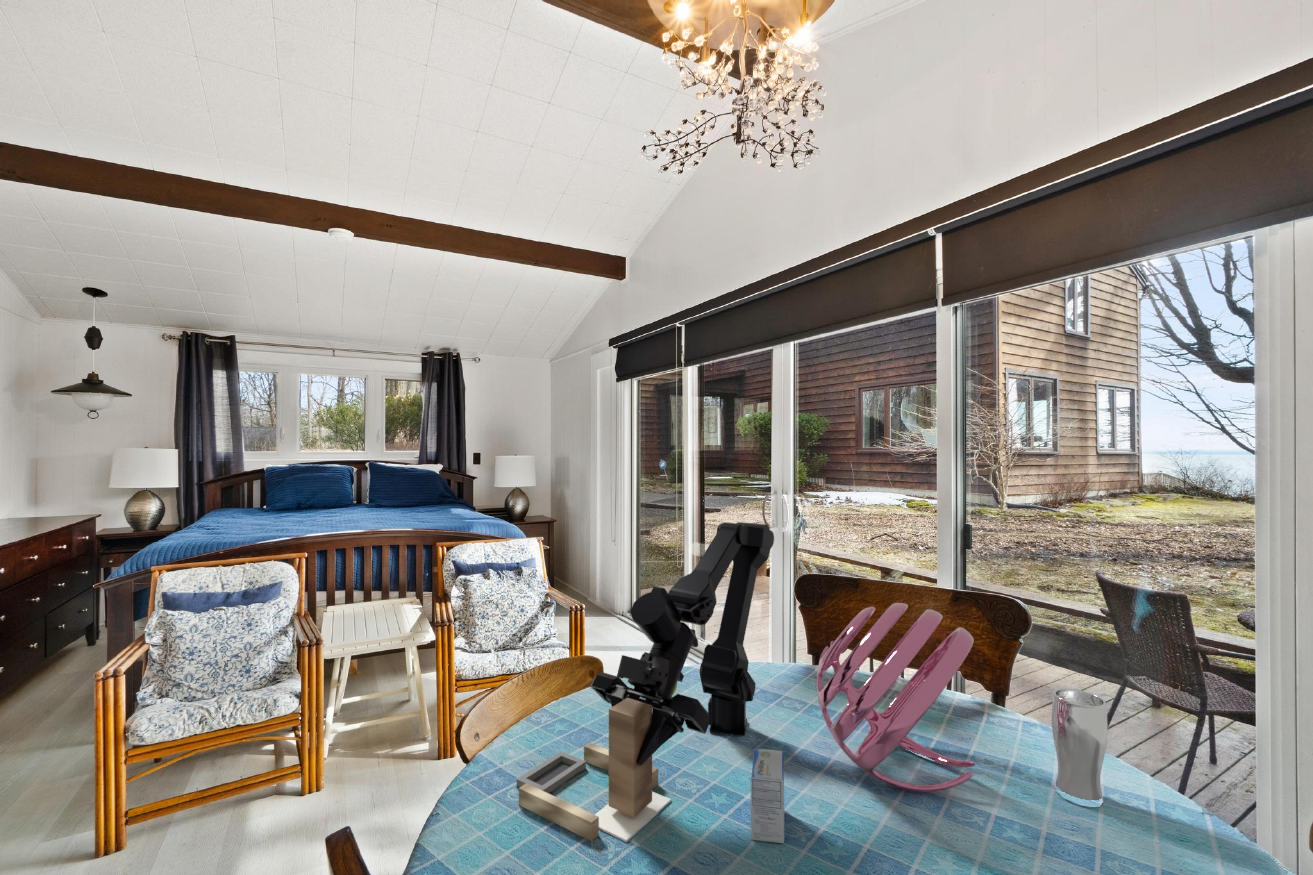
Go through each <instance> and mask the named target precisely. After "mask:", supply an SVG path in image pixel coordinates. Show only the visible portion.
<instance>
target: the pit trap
mask: <svg viewBox="0 0 1313 875" xmlns="http://www.w3.org/2000/svg"><path fill="white" fill-rule="evenodd" d="M586 769H587V762H586V761H584V759H582V758H579V757H577V756H574V755H571V754H569V753H566V752H564V751H559V752H558V753H556V754H554V755H553V756H551V757H550V758H548V759H547V760H545V761H543V762H542V763H540V764H539V765H537V766H535V767H534V768H532V769H530V770H529V771H527V772H526V773H524V774H522V775H521V776H519V777H517V778H516V788H517V789H519V788H520V787H521V786H523V785H525V784H526V783H527V784H529V785H531V786H533V787H536V788H538V789H540V790H542V791H544V792H546V793H549V794H551V793H553V792H554V791H556V790H557V789H559V788H560V787H562V786H563V785H565V784H566V783H567V782H569V781H571V779H573V778H574V777H576V776H577V775H579V774H581V773H582V772H583V771H585V770H586Z"/></svg>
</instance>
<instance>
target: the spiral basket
mask: <svg viewBox="0 0 1313 875" xmlns="http://www.w3.org/2000/svg"><path fill="white" fill-rule="evenodd" d="M908 607H909V605H908V604H907V603H904V602H903V603H902V602H894V603H892V604H891V605H890V606H889V607H888V608H886V610H885V612H884V613H883V614H882V615H881V616H880V617H879V618H878V620H877V621H876V622H875V623H874V625H872V626H871V628H870V629H869V630H868V631H867V632H866V634H865V635H864V636H863V637H862V639H861V640H859V642H858V643H857V644H856V646H855V647H854V648H853V650H851V652H850V654H849V655H848V656H847V657H846V658H845V659H844V661H842V663H840V657H841V654H842V653H843V652H844V651H845V650H846V648H848V646H849V645H850V643H851V642H852V641H853V640H854V639H855V638H856V637H857V635H858V634H859V632H860V631H861V630H862V628H863V627H864V626H865V624H866V623H867V622H868V621H869V619H870V618H871V617H872V615H873V614H874V612H875V611H876V608H875V606H869V607H866V608H864V609H862V610H860V612H858V613H857V615H856V616H855V617H853V618H852V620H851V621H850V622H849V624H847V625H846V626H845V628H844V629H843V630H842V631H841V633H839V635H838V637H837V638H836V639H835V640H832V641H830V646H828V645H826V646H825V647H824V648H823V649H822V650H823V651H822V653H821V654H820V658H819V661H818V667H817V673H816V690H817V699H818V704H819V707H820V711H821V714H822V718H823V720H824V722H825V725H826V727H827V729H828V731H829V733H830V735H831V736H832V738H833V739H834V741H835V743H836V744H837V746H838V747H839V748H840V749H841V750H842V751H843V753H844V754H845V755H846V756H847V758H849V759H850V760H851V761H852V762H853V764H855V766H857V767H858V768H860V769H861V770H862V771H864V772H865V773H866V774H868V775H870V776H871V777H873V778H874V779H876V780H878V781H880V782H882V783H884V784H886V785H888V786H891V787H894V788H897V789H900V790H904V791H910V792H915V793H916V792H917V793H933V792H934V793H935V792H941V791H946V790H949V789H952V788H955V787H958V786H960V785H963V784H964V783H966V782H967V781H969V780H970V779H971V778H972V777H973V775H974V774H973V772H972V771H967V772H966V773H964V774H962V775H960V776H958V777H956V778H953V779H951V780H948V781H946V782H945V781H944V782H941V783H936V784H926V785H925V784H912V783H908V782H907V783H906V782H903V781H902V782H901V781H900V780H899V781H898V780H896V779H894V778H890V777H888V776H885V775H883V774H881V773H879V772H878V771H876V770H875V768H877V767H878V766H879V765H880V764H881V763H882V762H883V761H884V760H885V759H887V757H888V756H889V755H890V754H891V753H892V752H893V751H894V750H895V749H896V748H897V747H900V748H902V749H903V748H904V749H903V750H905V749H907V750H910V751H912V752H914V753H917V754H921V755H923V756H926V757H928V758H930V759H932V760H934V761H935V762H938V763H941V764H943V765H942V766H945V765H946V767H950V768H951V767H953V768H972V767H975V766H976V764H975V762H974V761H970V760H960V759H955V758H951V757H948V756H945V755H942V754H939V753H937V752H936V751H933V750H931V749H929V748H928V747H925V746H923V745H921V744H920V743H918V742H916V741H915V740H913V739H911V738H910V737H909V736H908V735H909V733H910V732H911V731H912V730H913V729H914V727H915V726H916V725H917V724H918V723H919V721H920V720H922V718H923V716H925V714H926V713H927V712H928V710H929V709H930V708H931V707H932V705H933V704H934V702H936V700H937V699H938V698H939V696H940V695H941V694H942V692H943V691H944V690H945V688H946V687H947V686H948V684H949V683H950V681H952V678H953V677H954V676H955V675H956V674H957V672H958V670H959V669H960V667H961V666H962V664H963V663H964V661H965V660H966V658H967V656H968V654H969V653H970V651H971V649H972V647H973V644H974V641H975V639H974V637H973V636H972V634H971V633H970V632H969V631H968V630H966V629H965V628H964V627H960V626H959V627H957V628H955V630H953V631H952V632H951V633H950V634H949V635H948V636H947V637H946V638H945V639H944V640H943V641H942V642H941V643H940V644H939V645H938V646H937V648H936V649H935V650H934V651H932V653H931V654H930V656H929V657H928V658H927V659H926V660H925V661H924V662H923V663H922V665H921V666H920V667H919V668H918V670H916V672H915V673H914V674H913V675H912V677H911V678H910V679H909V681H907V682H906V684H905V685H904V687H903V688H902V689H901V690H900V691H899V693H898V694H897V695H896V696H895V697H894V698H893V700H892V701H891V703H890V704H889V706H888V707H887V708H886V709H885V710H884V711H882V712H878V711H877V710H876V709H874V708H875V707H876V706H877V704H878V703H879V702H880V701H881V699H882V698H883V697H884V696H885V694H886V693H887V692H888V691H889V690H890V688H891V687H892V686H893V684H894V683H895V682H896V681H897V680H898V678H899V677H900V676H901V675H902V674H903V672H904V671H905V669H907V667H908V665H910V663H911V662H912V661H913V660H914V659H915V657H916V655H917V654H918V653H919V652H920V650H921V649H922V647H924V645H925V643H926V642H927V641H928V640H929V638H930V637H931V636H932V634H933V633H934V631H935V630H936V629H937V628H938V626H939V624H940V623H941V621H942V619H943V618H944V617H943V614H941V613H940V612H938V611H936V610H935V609H934V610H933V609H926V610H924V612H923V613H922V614H921V615H920V616H919V618H917V620H916V621H915V622H914V623H913V625H912V626H911V627H910V628H909V629H908V631H906V633H905V634H903V637H902V638H901V639H900V640H899V641H898V642H897V644H896V645H895V646H894V647H893V649H892V650H891V651H890V652H889V653H888V655H887V656H886V657H885V659H884V660H883V661H882V662H881V663H880V665H878V666H877V668H876V669H875V671H874V672H873V674H872V675H870V677H869V678H868V679H867V680H866V682H865V683H864V685H863V686H862V687H861V688H856V687H855V686H854V684H853V680H852V679H853V676H854V675H855V673H856V672H857V671H858V670H859V669H860V667H861V666H862V665H863V664H864V663H865V661H866V660H867V659H868V658H869V656H870V655H871V654H872V653H873V651H874V650H875V649H876V647H877V646H878V645H879V644H880V643H881V641H883V639H884V638H885V636H886V635H887V634H888V633H889V631H890V630H891V629H892V628H893V626H894V625H895V624H896V623H897V622H898V620H899V619H900V618H901V616H902V615H903V614H904V613H905V611H907V609H908ZM831 666H832V669H833V675H832V676H831V677H830V679H829V680H828V681H827V682H826V684H825V685H824V684H823V683H824V682H823V680H824V674H825V673H826V672H827V671H828V670H829V668H830V667H831ZM823 685H824V686H823ZM840 692H842V693H844V694H845V696H846V698H847V705H846V707H845V709H844V710H843V711H842V712H841V714H840V715H839V716H838V718H837V719H836V720H835V721H834V723H833V722H832V720H831V717H830V715H829V712H828V706H829V705H830V704H831V703H832V702H833V700H834V699H835V698H836V697H837V695H838V694H839V693H840ZM864 720H865V721H866V722H867V723H868V724H869V727H870V730H869V732H868V733H867V735H866V736H865V737H864V739H863V741H862V742H861V744H860V745H859V747H858V749H857V750H856V752H855V753H854V752H852V750H850V748H849V747H848V746H847V745H846V743H845V741H846V740H847V739H848V737H849V736H850V735H851V734H852V733H853V732H854V731H855V730H856V729H857V728H858V726H860V724H861V723H862V722H863V721H864ZM907 750H906V751H907ZM941 764H940V765H941Z"/></svg>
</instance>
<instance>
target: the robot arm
mask: <svg viewBox="0 0 1313 875" xmlns="http://www.w3.org/2000/svg"><path fill="white" fill-rule="evenodd" d="M774 541H775V534H774V532H773V530H771V529H770V527H769V526H768V525H767V524H762V523H754V522H752V523H750V522H742V521H741V522H740V521H738V522H735V523H734V522H722V523H720V524H718V526H717V528H716V534H715V536H714V538H712V540H711V541H710V543H709V545H708V546H707V548H706V550H705V551H704V553H703V555H702V556H701V557H700V559H699V561H698V563H697V564H696V566H695V567H694V569H693V570H692V571H691V573H688V574H686V575H684V576H682V577H680V578H679V579H678V580H677V581H676V582H675V583H674V585H673V586H672V587H671V588H670V589H669V591H667V590H666V589H665V587H660V586H653V587H652V589H651V591H649V592H646V593H645V594H642V595H641V596H640V597H638V598H637V600H635V601H634V602H633V604H632V606H631V609H630V615H631V617H632V618H631V619H632V620H633V622H634V623H635V624H636V625H637V626H638V628H639V629H640V631H641V632H642V633H643V634H644V635H645V636H646V637H647V639H648V640H649V641H650V642H652V643H653V644H652V647H651V648H650V650H649V652H646V651H645V652H643V653H642V655H641V657H640V658H639V659H638V658H635V657H631V656H629V655H623V654H622V655H621V657H620V663H619V666H618V670H617V674H616V675H614V674H610V673H607V672H604V671H602V672H599V673H598V674H596V675H595V677H594V678H593V681H592V682H591V684H590V688H591V689H592V690H593V691H594V692H595V693H596V694H597V695H598V696H600V698H601V699H603V701H604V702H606V703H607V704H610V707H613V706H615V705H616V704H618V703H620V702H621V701H623V700H625V699H626V698H630V699H633V700H636V701H640V702H643V703H646V704H649V705H652V722H651V725H650V728H649V730H648V732H647V735H646V737H645V739H644V742H643V744H642V746H641V749H640V751H639V754H638V758H637V761H636V762H637V764H638V765H642V764H643V763H644V762H645V761H646V760H647V759H648V758H649V757H650V756H651V755H652V756H653V755H654V754H655V752H656V751H658V750H659V748H660V747H662V746H663V745H664V744H665V743H666V742H667V741H669V740H670V739H671V738H672V737H673V736H675V735H676V734H677V733H680V734H683V733H684V730H685V729H684V727H683V725H684V723H685V725H686V727H687V729H688V730H691V731H694V732H697V733H701V734H706V733H707V730H708V728H709V733H711V734H718V735H726V736H727V735H728V736H738V737H746V732H747V724H748V719H747V702H752V701H754V696H755V693H756V682H755V680H754V679H753V677H752V676H751V674H750V672H748V670H749V659H748V656H747V652H746V649H745V646H744V641H745V636H746V631H747V625H748V620H749V616H750V610H751V606H752V601H753V596H754V591H755V590H754V589H755V585H756V579H757V574H758V570H759V569H760V568H762V566H763V565H764V564H765V562H767V561H768V559H769V558H770V557H769V556H770V552H771V549H772V547H774V543H775V542H774ZM731 564H732V570H731V572H730V573H731V574H730V578H729V583H728V588H727V592H726V597H725V602H724V605H723V606H724V607H723V611H722V616H721V622H720V624H719V630H718V635H717V637H716V639H715V640H714V641H713V642H712V644H706V646H705V648H704V652H703V657H702V660H701V663H700V667H699V678H700V683H701V688H702V692H703V693H704V694H709V695H711V696H710V697H709V700H708V703H707V709H706V708H705V706H704V705H703V704H702V703H701V702H700V701H699V699H697V698H694V697H691V696H687V695H683V694H680V693H676V694H675V695H674V694H673V691H674V689H675V686H676V684H677V685H678V682H680V683H683V680H684V677H685V675H684V674H683V672H682V670H683V668H684V665H685V663H686V661H687V658H688V656H689V654H690V650H691V648H692V647H693V648H697V647H699V640H698V638H697V635H696V630H695V629H693V628H690V627H689V625H688V624H692V625H698V626H702V625H703V626H705V625H706V624H707V623H708V622H709V621H710V619H711V618H712V617H713V614H714V612H715V607H716V605H717V596H716V590H717V589H718V587H719V584H720V583H721V581H722V579H723V577H724V576H725V574H726V572H727V571H728V568H729V567H730V565H731ZM686 623H687V624H686ZM624 678H625V679H627V683H628V684H629V685H631V686H633V688H632V687H629V686H628V685H627V684H626V682H624V681H623V680H622V679H624ZM672 694H673V695H672ZM672 696H673V697H672Z"/></svg>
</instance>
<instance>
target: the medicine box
mask: <svg viewBox="0 0 1313 875" xmlns="http://www.w3.org/2000/svg"><path fill="white" fill-rule="evenodd" d="M752 756H753V758H752V768H751V769H752V770H751V778H750V825H751V826H750V828H751V830H750V835H751V839H752V841H753V840H754V841H758V842H765V843H766V842H767V843H774V844H775V843H777V844H782V845H783V844H784V843H785V768H784V767H785V765H784V752H783V751H782V750H776V749H775V750H773V749H768V748H767V749H765V748H754V749H753V755H752Z"/></svg>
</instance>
